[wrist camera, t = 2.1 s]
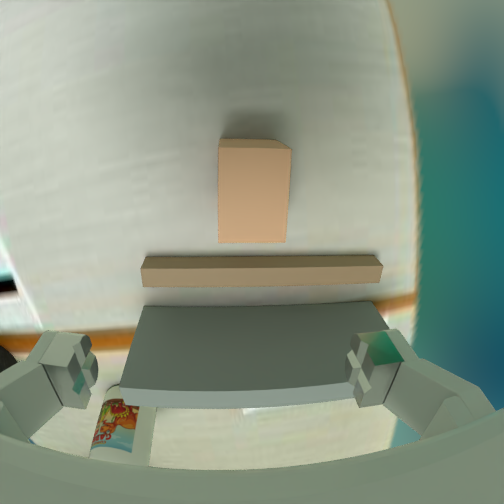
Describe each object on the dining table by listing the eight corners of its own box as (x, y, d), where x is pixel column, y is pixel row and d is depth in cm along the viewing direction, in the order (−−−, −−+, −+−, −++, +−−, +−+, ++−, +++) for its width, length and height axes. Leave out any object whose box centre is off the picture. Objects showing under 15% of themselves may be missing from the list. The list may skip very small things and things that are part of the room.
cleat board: (136, 257, 31) (100, 331, 20) (381, 255, 34) (438, 318, 23) (147, 323, 35) (125, 404, 24) (366, 317, 37) (407, 387, 26)
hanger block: (219, 138, 27) (218, 147, 21) (276, 139, 28) (291, 149, 21) (219, 213, 30) (218, 243, 24) (272, 213, 31) (285, 242, 24)
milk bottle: (163, 394, 40) (149, 526, 22) (149, 420, 43) (136, 536, 25) (111, 375, 38) (77, 505, 20) (102, 404, 41) (75, 518, 23)
